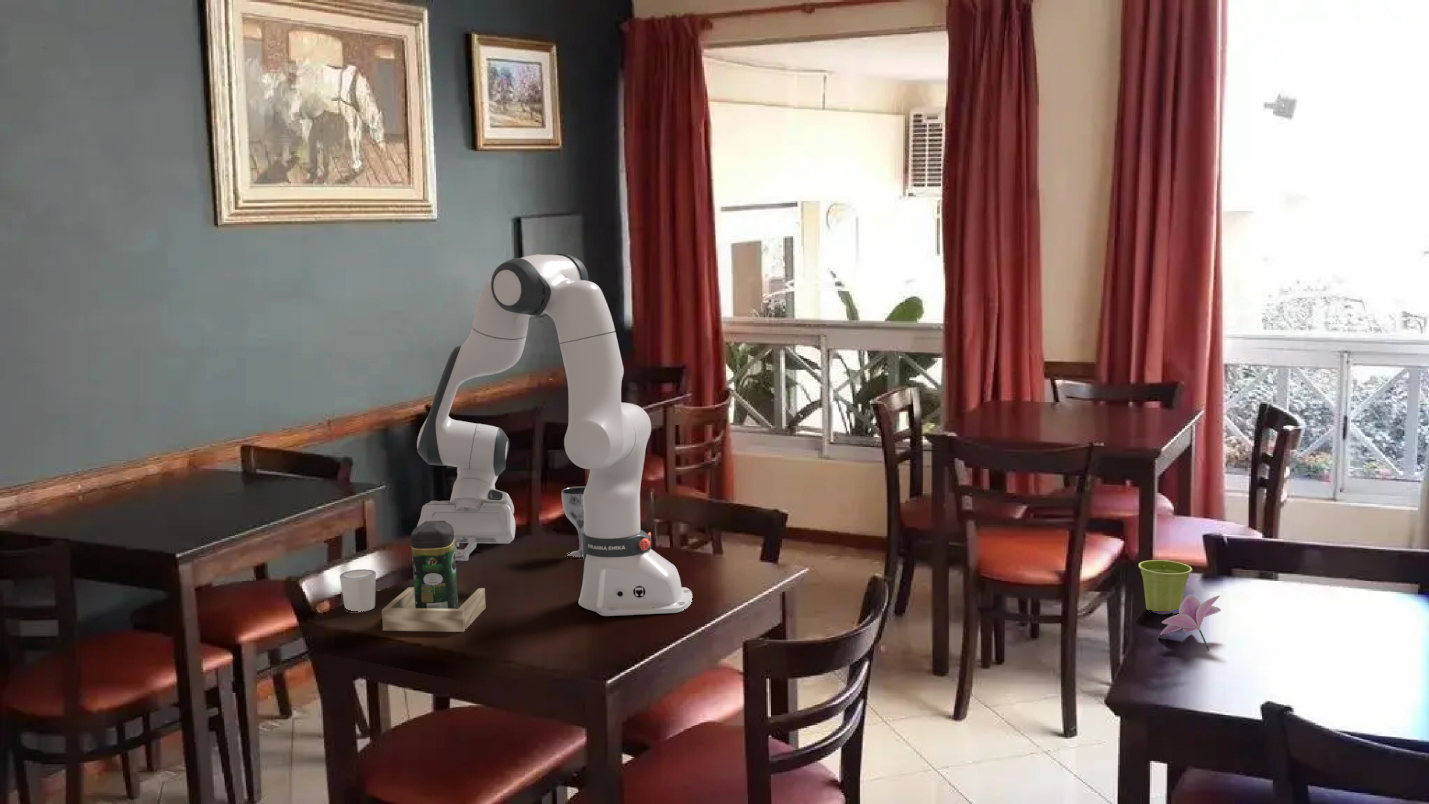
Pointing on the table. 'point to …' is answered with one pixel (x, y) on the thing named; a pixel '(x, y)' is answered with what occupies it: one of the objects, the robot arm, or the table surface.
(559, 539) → the table surface
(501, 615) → the table surface
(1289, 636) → the table surface
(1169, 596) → the plant pot
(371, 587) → the white cup
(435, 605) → the coffee jar
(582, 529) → the wine glass
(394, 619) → the bay
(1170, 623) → the lily
